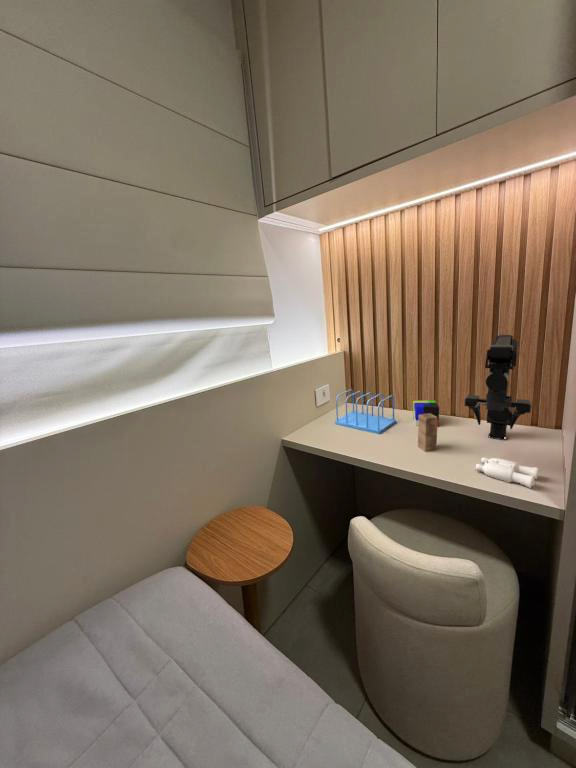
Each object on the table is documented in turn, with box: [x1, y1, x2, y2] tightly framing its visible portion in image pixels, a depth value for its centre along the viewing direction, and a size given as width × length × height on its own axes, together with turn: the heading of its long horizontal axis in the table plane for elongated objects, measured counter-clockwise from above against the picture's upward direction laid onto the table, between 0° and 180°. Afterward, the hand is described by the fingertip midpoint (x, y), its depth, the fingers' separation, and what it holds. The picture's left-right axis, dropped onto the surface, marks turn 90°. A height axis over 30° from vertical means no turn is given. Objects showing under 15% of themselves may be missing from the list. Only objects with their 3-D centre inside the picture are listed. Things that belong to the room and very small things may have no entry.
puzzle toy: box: [412, 400, 440, 428], centre depth 156 cm, size 10×10×10 cm
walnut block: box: [417, 413, 438, 453], centre depth 129 cm, size 5×5×14 cm
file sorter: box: [334, 388, 397, 435], centre depth 161 cm, size 25×17×15 cm
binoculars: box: [475, 457, 539, 489], centre depth 107 cm, size 10×16×5 cm, turn 43°
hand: (494, 426), depth 111 cm, fingers open, 9 cm apart
